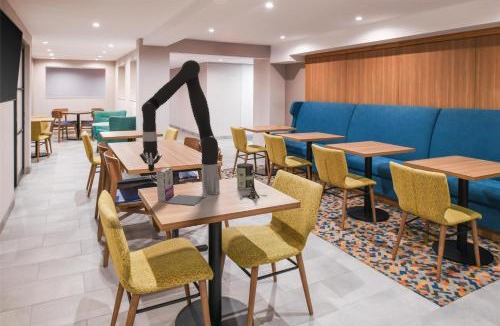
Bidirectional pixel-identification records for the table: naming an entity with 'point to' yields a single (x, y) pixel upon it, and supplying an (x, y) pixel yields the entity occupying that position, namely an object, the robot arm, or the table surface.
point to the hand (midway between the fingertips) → (151, 171)
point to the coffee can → (244, 176)
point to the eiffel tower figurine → (252, 193)
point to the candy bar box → (165, 184)
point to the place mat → (185, 200)
